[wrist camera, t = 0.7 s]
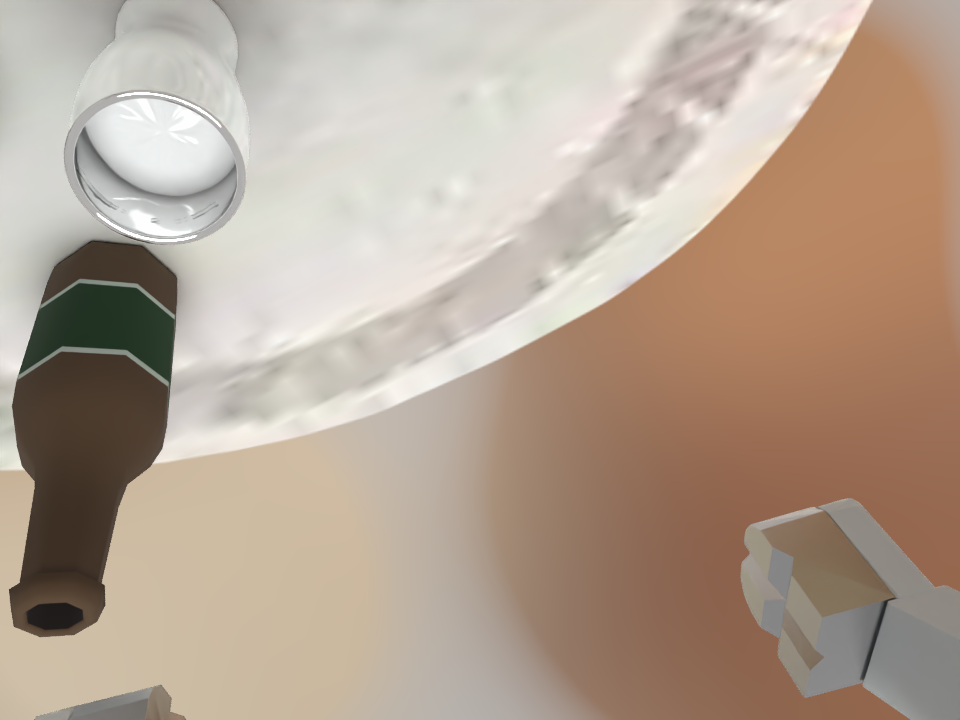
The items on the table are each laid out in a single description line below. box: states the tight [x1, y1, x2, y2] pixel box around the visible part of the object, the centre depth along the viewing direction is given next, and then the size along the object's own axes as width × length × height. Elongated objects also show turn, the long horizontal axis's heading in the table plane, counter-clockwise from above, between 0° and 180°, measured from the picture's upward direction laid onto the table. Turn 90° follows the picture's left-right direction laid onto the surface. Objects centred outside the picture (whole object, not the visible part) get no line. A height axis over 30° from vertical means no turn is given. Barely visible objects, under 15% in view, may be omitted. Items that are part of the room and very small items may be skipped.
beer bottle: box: [9, 242, 177, 637], centre depth 40 cm, size 8×8×24 cm
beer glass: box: [64, 0, 250, 245], centre depth 35 cm, size 7×7×15 cm
